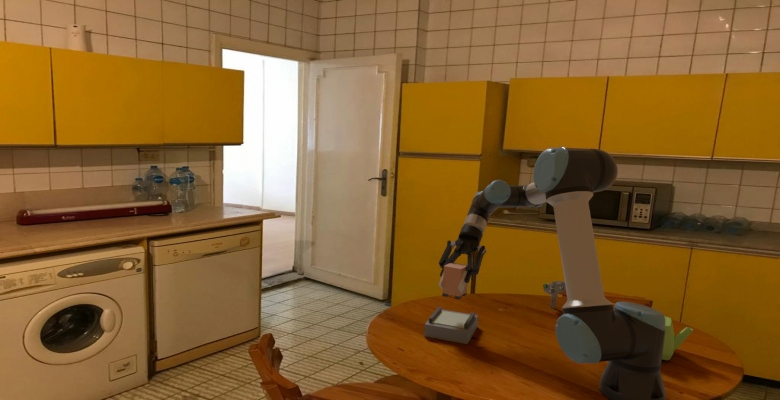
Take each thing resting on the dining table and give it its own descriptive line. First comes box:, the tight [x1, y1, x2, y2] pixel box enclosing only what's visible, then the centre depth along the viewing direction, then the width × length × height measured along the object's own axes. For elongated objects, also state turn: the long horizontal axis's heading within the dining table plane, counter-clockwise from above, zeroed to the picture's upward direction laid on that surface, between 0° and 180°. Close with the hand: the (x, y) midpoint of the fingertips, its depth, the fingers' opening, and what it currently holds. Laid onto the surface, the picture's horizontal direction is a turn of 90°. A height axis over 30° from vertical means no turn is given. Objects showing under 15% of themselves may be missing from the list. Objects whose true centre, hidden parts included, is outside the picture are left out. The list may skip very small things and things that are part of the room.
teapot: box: [662, 315, 694, 361], centre depth 154 cm, size 18×20×13 cm
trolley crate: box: [441, 262, 468, 300], centre depth 164 cm, size 6×6×10 cm
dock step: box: [423, 306, 479, 345], centre depth 166 cm, size 16×14×6 cm
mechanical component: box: [542, 280, 566, 309], centre depth 193 cm, size 3×10×10 cm, turn 115°
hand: (450, 288), depth 161 cm, fingers closed on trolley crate, 6 cm apart
